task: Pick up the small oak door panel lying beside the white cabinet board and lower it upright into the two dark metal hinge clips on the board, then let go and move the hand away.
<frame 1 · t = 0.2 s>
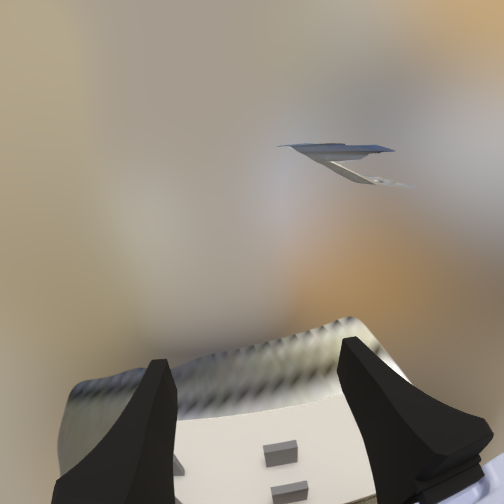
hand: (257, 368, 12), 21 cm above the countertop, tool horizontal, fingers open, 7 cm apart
cabinet board: (246, 468, 26), on the countertop
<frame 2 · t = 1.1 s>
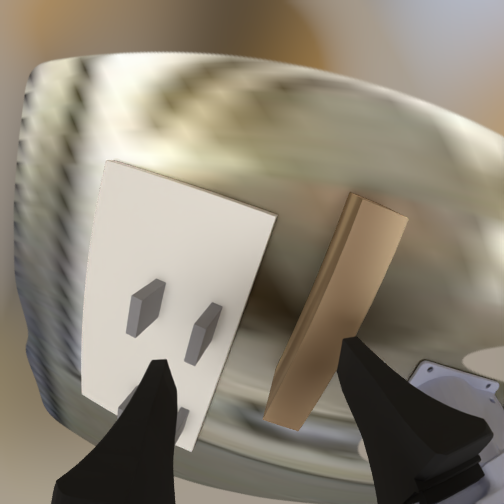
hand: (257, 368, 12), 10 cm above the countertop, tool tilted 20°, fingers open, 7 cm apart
cabinet board: (152, 328, 25), on the countertop
door panel: (327, 295, 21), on the countertop
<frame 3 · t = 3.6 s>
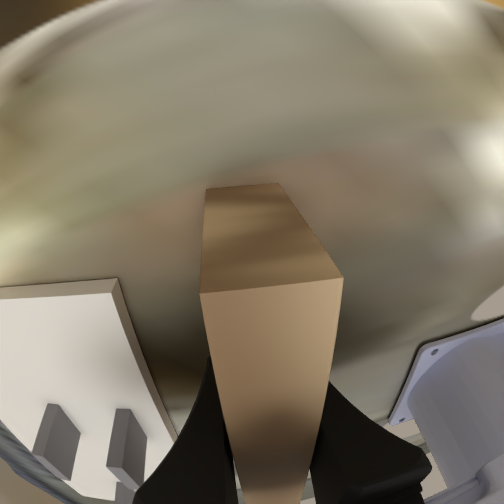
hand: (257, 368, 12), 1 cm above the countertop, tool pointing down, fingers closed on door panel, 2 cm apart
cabinet board: (87, 435, 16), on the countertop
door panel: (252, 343, 14), on the countertop, touching gripper
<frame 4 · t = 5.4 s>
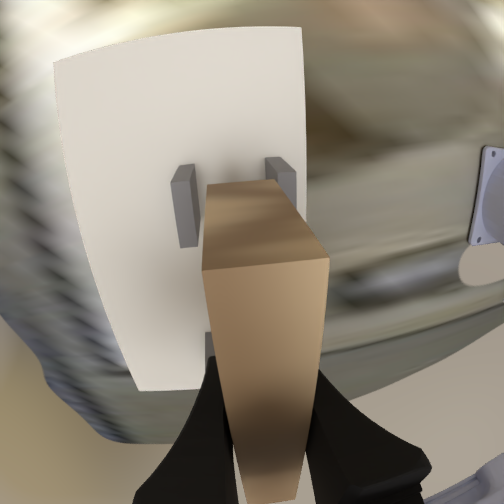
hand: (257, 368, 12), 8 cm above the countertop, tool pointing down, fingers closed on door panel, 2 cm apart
cabinet board: (193, 244, 19), on the countertop
door panel: (251, 333, 14), point 6 cm above the countertop, touching gripper
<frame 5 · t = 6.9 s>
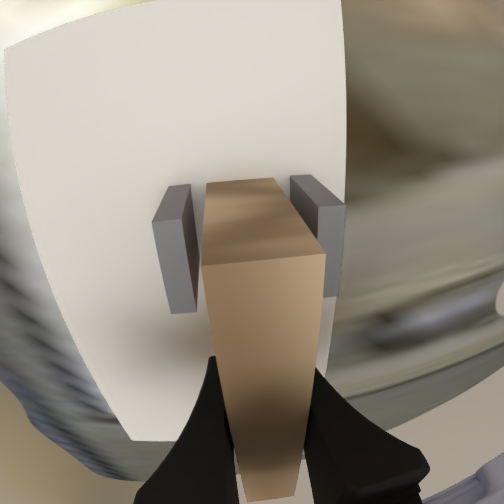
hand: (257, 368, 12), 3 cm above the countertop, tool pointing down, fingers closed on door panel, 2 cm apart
cabinet board: (191, 287, 14), on the countertop
door panel: (250, 330, 15), point 1 cm above the countertop, touching cabinet board, gripper
when the fingers open (3 cm above the countertop, at t = 7.1 s): door panel stays where it is, resting on cabinet board.
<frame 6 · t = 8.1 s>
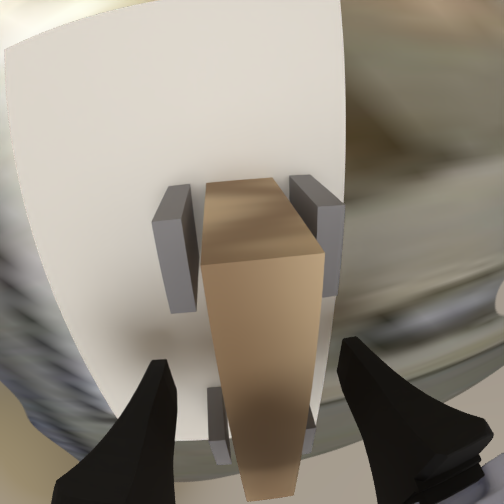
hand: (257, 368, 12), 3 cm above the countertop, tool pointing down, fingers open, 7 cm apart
cabinet board: (190, 287, 14), on the countertop
door panel: (250, 330, 15), point 1 cm above the countertop, touching cabinet board
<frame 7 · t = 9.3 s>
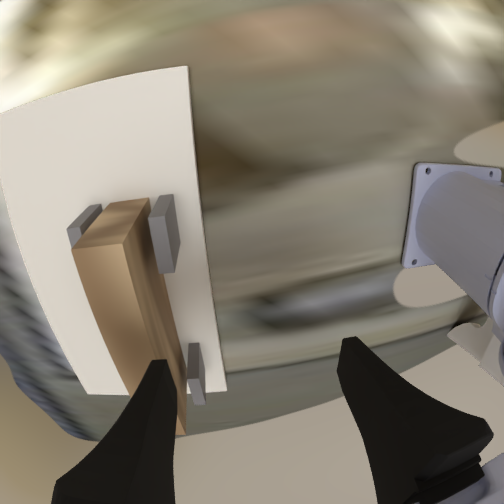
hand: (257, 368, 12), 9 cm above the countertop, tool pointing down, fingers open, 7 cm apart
cabinet board: (113, 270, 20), on the countertop
door panel: (151, 301, 20), point 1 cm above the countertop, touching cabinet board
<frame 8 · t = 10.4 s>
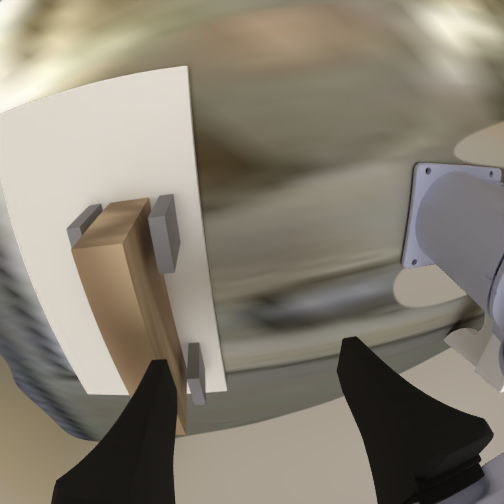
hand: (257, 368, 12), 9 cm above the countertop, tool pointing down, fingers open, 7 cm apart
cabinet board: (113, 270, 20), on the countertop
door panel: (151, 301, 20), point 1 cm above the countertop, touching cabinet board
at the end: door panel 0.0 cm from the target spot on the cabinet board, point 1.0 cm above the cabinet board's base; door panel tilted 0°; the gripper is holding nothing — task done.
